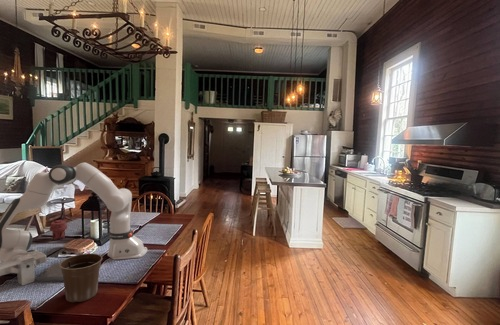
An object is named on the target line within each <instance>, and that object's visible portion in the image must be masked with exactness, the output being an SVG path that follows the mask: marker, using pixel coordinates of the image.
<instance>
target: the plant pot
mask: <svg viewBox="0 0 500 325" xmlns="http://www.w3.org/2000/svg"><path fill="white" fill-rule="evenodd" d="M102 261H103V256H102V255H101V254H97V253H90V252H89V253H81V254H76V255H73V256H69V257H67V258H65V259H63V260H62V261H61V262H60V263H59V264H60V268H61V271H62V275H63V279H64V281H63V287H64V294H65V300H66V302H69V303H75V302H79V303H81V302H85V301H88V300H90V299H92V298H93V297H95V296H96V295H97V293H98V290H99V289H98V286H99V280H100V279H99V278H100V268H101V267H102V266H101V264H102Z"/></svg>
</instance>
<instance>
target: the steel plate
mask: <svg viewBox="0 0 500 325" xmlns="http://www.w3.org/2000/svg"><path fill="white" fill-rule="evenodd" d="M36 282H37V283H48V282H54V283H55V282H58V283H59V282H61V283H62V282H64V279H63V275H62V271H61V268H60V263H53V264H52V265H51V266H50V267H48V268H46V269H45V270H44V271H43V272H41V273H40V274H39V275H37V276H36Z"/></svg>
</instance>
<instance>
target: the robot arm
mask: <svg viewBox="0 0 500 325" xmlns="http://www.w3.org/2000/svg"><path fill="white" fill-rule="evenodd" d="M76 181H79V182H80V183H82V184H83V185H85V187H87V188H89V189H90V190H91V191H92V192H93V193H94V194H96V195H97V196H98V197H99V199H100V200H101V201H102V202H103V203H104V204H105V205H106V208H107V210H109V211H111V212H110V217H109V232H108V233H109V234H108V238H109V244H108V245H109V247H108V251H107V257H109V258H111V259H112V260H125V259H138V258H139V259H140V258H143V257H144V256H145V255H146V254H147V253H148V247H146V246H144V241H142V240H141V239H140V238H138V237H137V236H135V234H134V232H135V230H132V229H131V212H132V204H133V202H132V200H133V192H132V191H131V190H130V189H128V188H125V187H124V188H122V187H121V188H118V187H117V186H116V184H114V183H113V181H112V180H111V178H110V177H108V176H107V175H106V174H104V173H103V172H102V171H101V170H99V169H98V168H96V167H95V166H94V165H92V164H90V163H88V162H81V163H79V164H77V165H76V166H74V167H73V166H71V165H65V164H58V165H55V166H53V167H51V168H50V170H49V171H48V172H42V171H41V172H38V173H35V175H34V176H33V177H32V178H31V180H30V181H29V183H28V186H27V187H26V189H25V191H24V193H23V194H22V195H21V196H19V197H17V198H15V199H13V200H12V201H11V202H10V204H9V205H8V206H7V208H5V211H3V213H2V215H1V216H0V277H2V276H5V275H9V274H13V273H14V274H17V273H19V272H20V269H19V268H17V257H20V256H24V255H28V254H30V255H31V256H33V257H34V269H35V268H37V266H39V265H41V264H43V263H46V262H47V255H46V254H45V253H44V252H41V251H38V249H30V247H32V243H33V241H34V240H33V239H34V238H33V235H32V233H31V232H30V231H29V230H24V229H23V230H22V229H11V228H8V226H9V225H10V224H11V222H12V221H13V219H14V217H15V216H16V215H17V214H19V213H21V212H24V211H28V210H34V209H38V208H40V207H43V206H44V205H45V204H47V202H48V200H49V199H50V197H51V193H52V191H53V189H54V188H55V187H56V186H68V185H71V184H73V183H75V182H76ZM29 249H30V250H29Z"/></svg>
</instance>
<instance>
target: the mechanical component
mask: <svg viewBox="0 0 500 325" xmlns="http://www.w3.org/2000/svg"><path fill="white" fill-rule="evenodd" d="M67 229H68V225H67V221H66V220H62V219H58V220H54V221H52V222H51V223H50V227H49V231H50V232H52V238H53V240H54V241H57V240H60V239H61V240H62V239H65V235H66V230H67Z"/></svg>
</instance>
